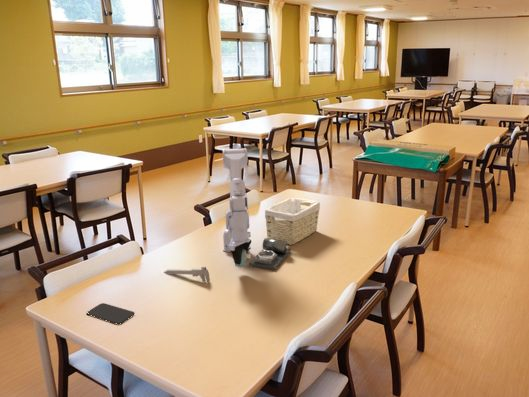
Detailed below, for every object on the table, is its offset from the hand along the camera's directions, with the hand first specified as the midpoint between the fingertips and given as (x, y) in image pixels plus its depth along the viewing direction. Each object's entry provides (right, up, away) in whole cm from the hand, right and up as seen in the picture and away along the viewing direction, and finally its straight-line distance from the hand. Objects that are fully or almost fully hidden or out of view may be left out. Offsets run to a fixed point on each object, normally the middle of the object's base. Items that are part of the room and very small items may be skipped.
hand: (240, 261), depth 169 cm
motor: (+11, -1, +13) cm, 18 cm away
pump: (0, -1, 0) cm, 2 cm away
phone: (-41, -14, -24) cm, 50 cm away
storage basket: (+22, +6, +38) cm, 44 cm away
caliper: (-20, -6, 0) cm, 21 cm away
